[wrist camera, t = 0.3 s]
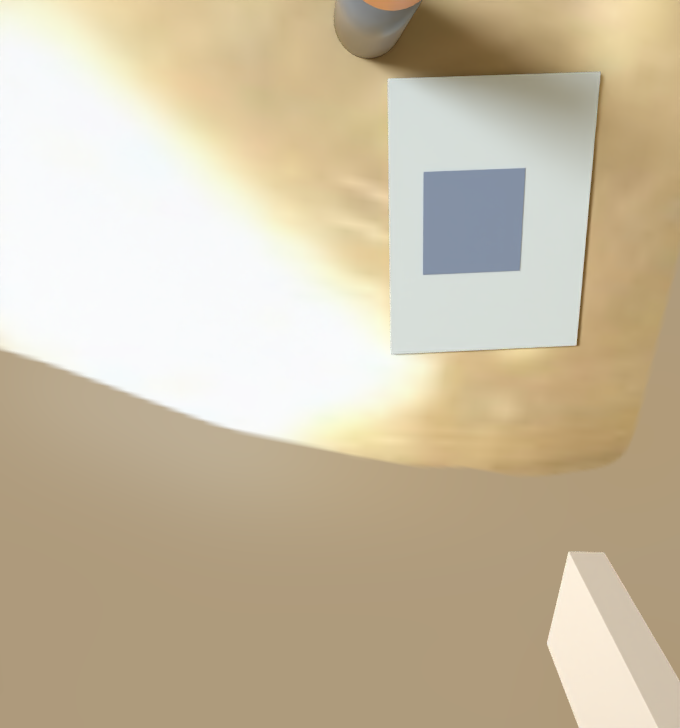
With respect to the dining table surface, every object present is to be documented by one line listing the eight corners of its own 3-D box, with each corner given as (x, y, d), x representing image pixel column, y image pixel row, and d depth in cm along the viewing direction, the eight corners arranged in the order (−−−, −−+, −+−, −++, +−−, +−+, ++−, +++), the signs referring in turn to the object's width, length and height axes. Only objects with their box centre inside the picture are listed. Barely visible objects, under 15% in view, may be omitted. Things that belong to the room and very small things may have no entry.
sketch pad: (387, 79, 33) (388, 78, 32) (598, 72, 33) (601, 71, 33) (390, 353, 38) (391, 354, 37) (574, 344, 38) (576, 345, 38)
